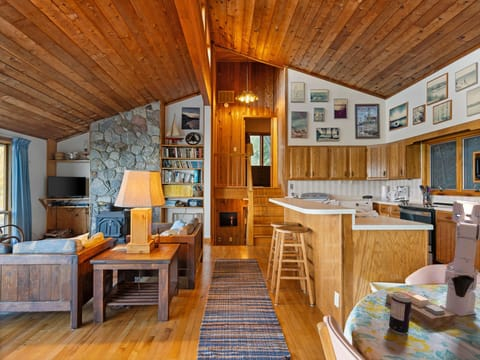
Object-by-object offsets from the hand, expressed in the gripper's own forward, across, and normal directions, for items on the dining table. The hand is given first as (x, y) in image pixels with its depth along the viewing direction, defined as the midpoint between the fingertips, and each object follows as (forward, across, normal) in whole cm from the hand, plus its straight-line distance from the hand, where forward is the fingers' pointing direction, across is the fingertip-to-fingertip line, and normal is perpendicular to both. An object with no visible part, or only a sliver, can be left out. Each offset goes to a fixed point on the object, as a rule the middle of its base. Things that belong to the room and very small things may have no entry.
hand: (459, 296), depth 104 cm
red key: (+8, +4, -17) cm, 19 cm away
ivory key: (+7, +5, -11) cm, 14 cm away
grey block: (+8, +5, -5) cm, 11 cm away
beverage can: (+11, +24, -4) cm, 27 cm away
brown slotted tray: (+10, +5, -11) cm, 16 cm away
